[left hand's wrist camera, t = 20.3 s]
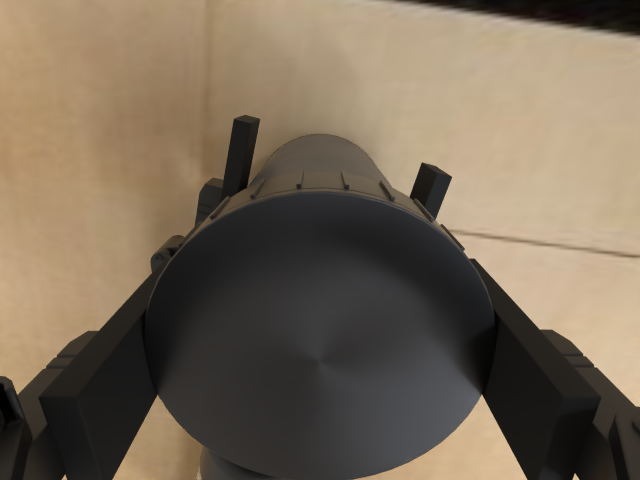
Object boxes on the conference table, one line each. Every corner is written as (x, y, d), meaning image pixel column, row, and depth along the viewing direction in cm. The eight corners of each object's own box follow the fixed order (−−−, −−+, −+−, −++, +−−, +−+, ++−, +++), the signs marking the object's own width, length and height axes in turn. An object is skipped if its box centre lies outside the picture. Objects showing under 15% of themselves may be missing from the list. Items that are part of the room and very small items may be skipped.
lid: (477, 396, 14) (507, 456, 12) (226, 440, 15) (210, 503, 12) (451, 133, 10) (487, 145, 8) (125, 209, 11) (76, 239, 9)
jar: (279, 113, 24) (213, 151, 9) (404, 162, 25) (527, 266, 10) (240, 234, 27) (144, 410, 12) (354, 273, 28) (392, 477, 13)
